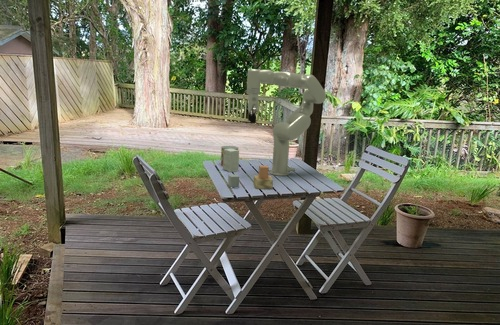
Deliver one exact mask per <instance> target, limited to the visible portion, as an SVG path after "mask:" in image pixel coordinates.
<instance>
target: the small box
mask: <svg viewBox="0 0 500 325" xmlns="http://www.w3.org/2000/svg"><path fill="white" fill-rule="evenodd" d="M239 158H240V150H239V149H238V150H235V149H224V159H223V166H222V170H223V171H227V172H229V173H233V172H238V171H239V163H240V162H239V161H240V159H239Z"/></svg>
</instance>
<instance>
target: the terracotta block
mask: <svg viewBox="0 0 500 325" xmlns="http://www.w3.org/2000/svg"><path fill="white" fill-rule="evenodd" d="M269 171H270V168H269V166H268V165H265V164H263V165H261V164H259V165H258V175H259V178H268V175H269Z"/></svg>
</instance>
